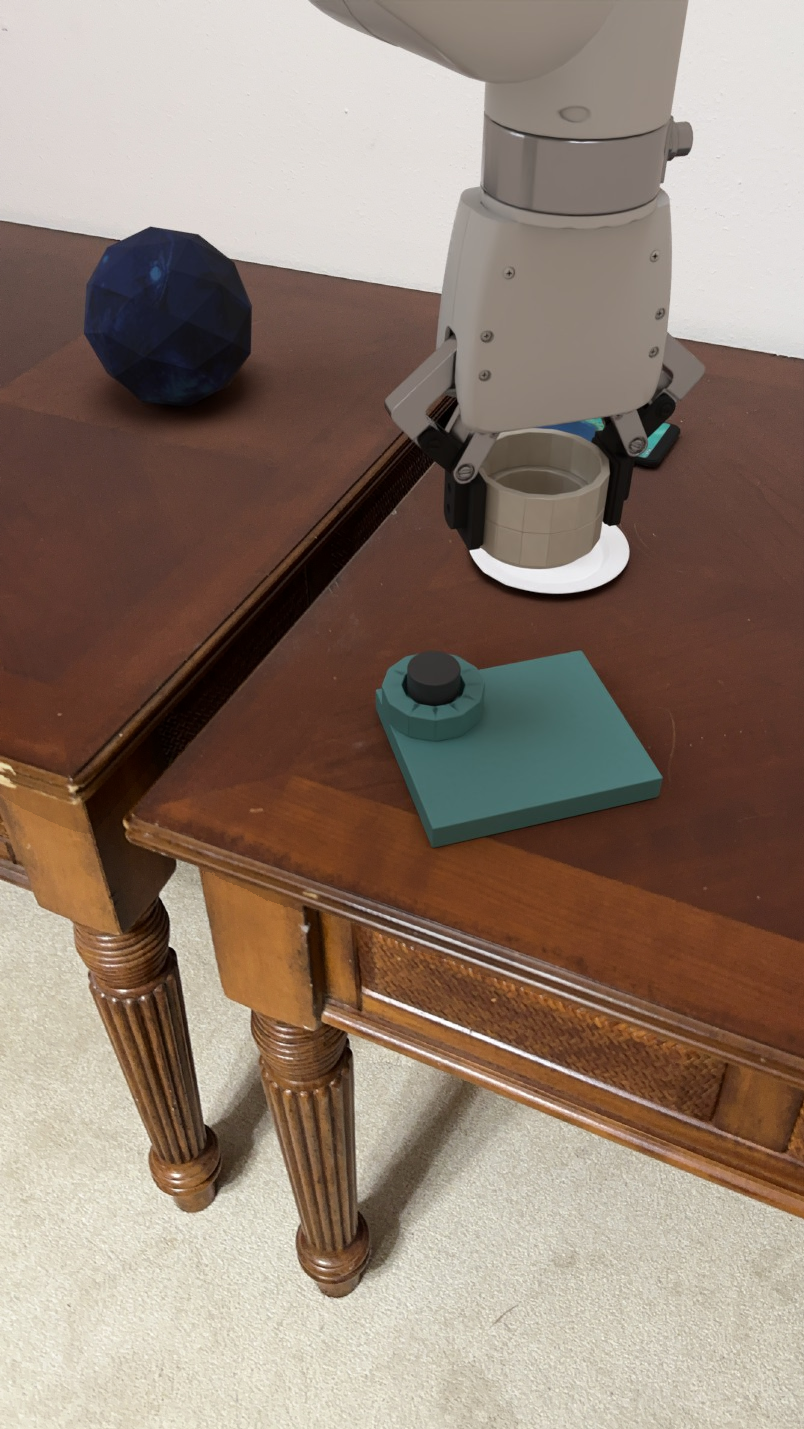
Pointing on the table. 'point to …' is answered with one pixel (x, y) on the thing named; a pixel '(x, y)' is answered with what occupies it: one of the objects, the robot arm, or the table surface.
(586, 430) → the smartphone
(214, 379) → the decorative orb
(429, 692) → the button
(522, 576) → the candle holder
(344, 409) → the table surface
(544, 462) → the bowl
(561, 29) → the robot arm
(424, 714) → the teal dial base
